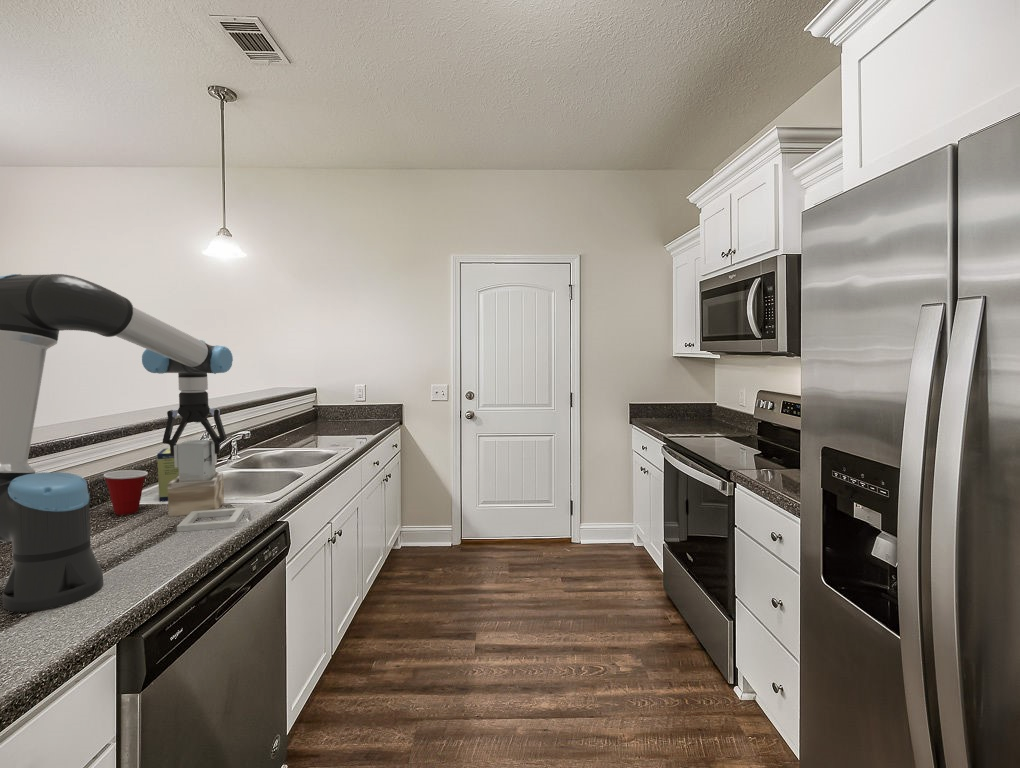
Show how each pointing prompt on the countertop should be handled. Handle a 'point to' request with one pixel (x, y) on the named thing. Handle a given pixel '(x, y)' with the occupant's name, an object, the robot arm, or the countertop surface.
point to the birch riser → (195, 495)
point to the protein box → (166, 472)
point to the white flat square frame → (191, 526)
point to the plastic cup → (125, 490)
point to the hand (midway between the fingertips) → (196, 465)
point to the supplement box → (195, 461)
